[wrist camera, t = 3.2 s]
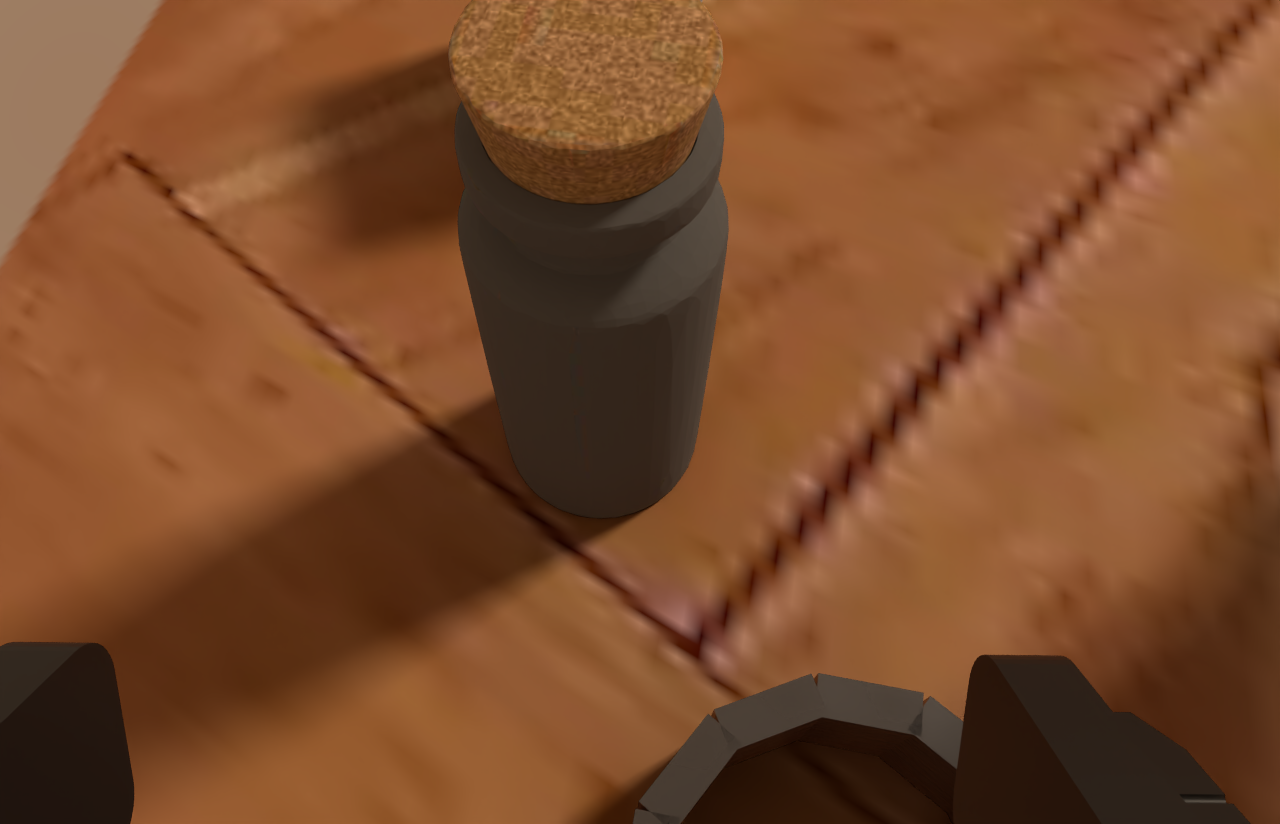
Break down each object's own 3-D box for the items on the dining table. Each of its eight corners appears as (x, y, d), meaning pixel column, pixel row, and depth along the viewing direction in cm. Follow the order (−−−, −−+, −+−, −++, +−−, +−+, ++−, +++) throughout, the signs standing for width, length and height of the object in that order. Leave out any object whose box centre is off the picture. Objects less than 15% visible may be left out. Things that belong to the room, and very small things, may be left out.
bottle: (642, 554, 28) (660, 228, 14) (471, 467, 29) (342, 92, 16) (728, 399, 30) (811, -3, 17) (568, 324, 31) (527, -106, 18)
